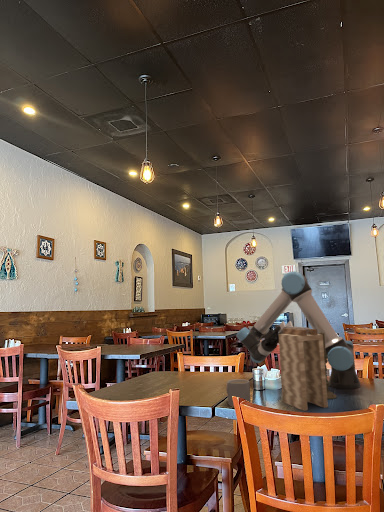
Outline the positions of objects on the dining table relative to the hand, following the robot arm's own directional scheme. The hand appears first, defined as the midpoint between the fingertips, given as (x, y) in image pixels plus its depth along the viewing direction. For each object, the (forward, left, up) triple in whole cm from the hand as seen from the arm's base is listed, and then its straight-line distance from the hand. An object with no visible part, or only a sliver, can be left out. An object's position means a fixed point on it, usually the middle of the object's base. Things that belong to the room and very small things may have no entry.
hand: (287, 323), depth 182 cm
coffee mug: (+24, +8, -34) cm, 43 cm away
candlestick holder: (-16, -6, -34) cm, 38 cm away
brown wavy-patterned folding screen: (-5, +8, -34) cm, 35 cm away
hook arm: (-1, +2, -4) cm, 5 cm away
